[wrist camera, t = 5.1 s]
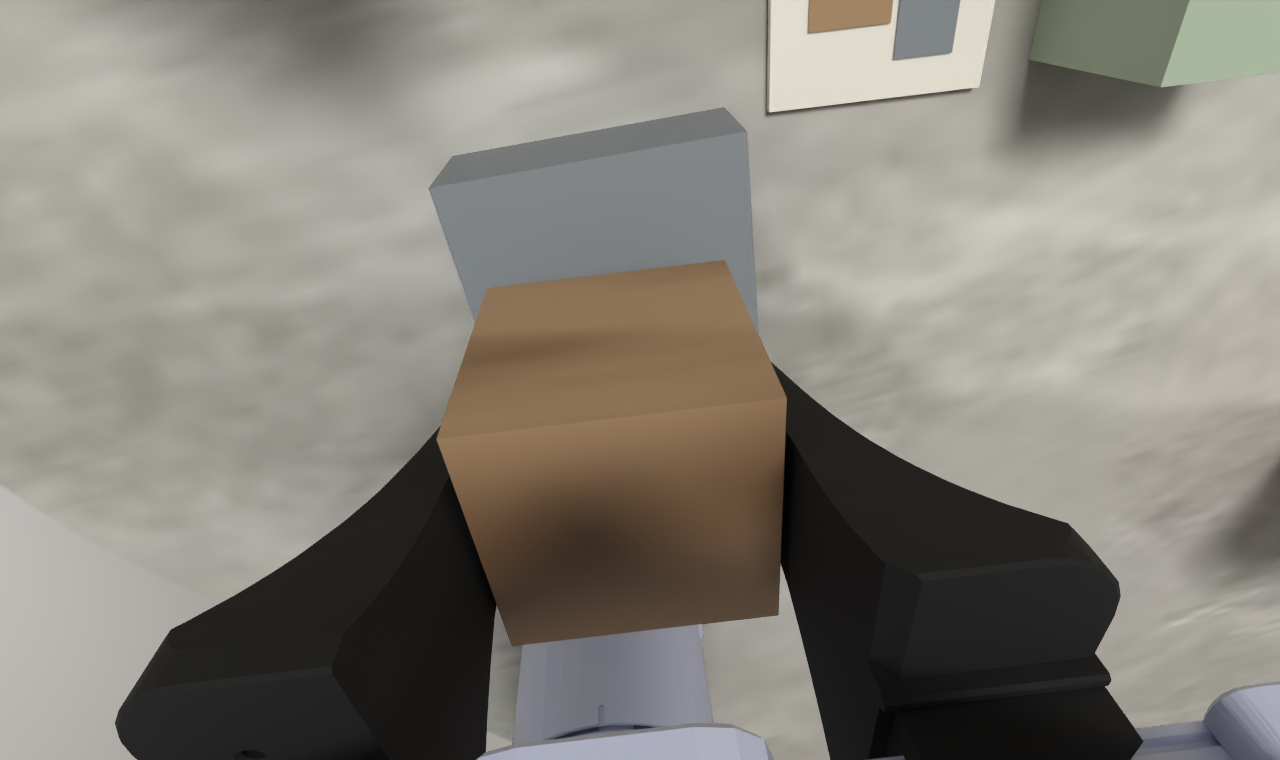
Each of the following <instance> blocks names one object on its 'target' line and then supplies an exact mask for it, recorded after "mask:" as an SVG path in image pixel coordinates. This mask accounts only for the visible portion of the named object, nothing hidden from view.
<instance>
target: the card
mask: <svg viewBox="0 0 1280 760" xmlns="http://www.w3.org/2000/svg"><path fill="white" fill-rule="evenodd" d="M994 4H995V0H768V57H767V111H768V112H777V111H786V110H794V109H802V108H811V107H819V106H827V105H835V104H844V103H852V102H860V101H869V100H877V99H885V98H893V97H902V96H910V95H918V94H927V93H935V92H943V91H951V90H960V89H968V88H976V87H979V85H980V79H981V74H982V69H983V63H984V58H985V53H986V47H987V42H988V36H989V31H990V26H991V20H992V15H993V10H994Z"/></svg>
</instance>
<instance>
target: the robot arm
mask: <svg viewBox="0 0 1280 760" xmlns="http://www.w3.org/2000/svg"><path fill="white" fill-rule="evenodd" d="M771 364H772V366H773V368H774V370H775V373H776V375H777V377H778V379H779V382H780V384H781V386H782V388H783V390H784V393H785V395H786V397H787V407H786V433H785V458H784V484H783V509H782V535H781V560H780V563H781V566H782V569H783V572H784V575H785V578H786V581H787V584H788V587H789V591H790V595H791V599H792V603H793V606H794V610H795V614H796V618H797V622H798V625H799V629H800V633H801V637H802V641H803V645H804V649H805V653H806V657H807V661H808V665H809V669H810V673H811V677H812V682H813V686H814V690H815V694H816V698H817V703H818V707H819V711H820V715H821V720H822V724H823V728H824V733H825V737H826V742H827V746H828V751H829V755H830V760H1280V682H1273V683H1264V684H1256V685H1247V686H1243V687H1239V688H1234V689H1232V690H1230V691H1228V692H1226V693H1223V694H1221V695H1220V696H1219V697H1218V698H1217V699H1215V700H1214V701H1213V703H1212V704H1211V705H1210V706H1209V708H1208V710H1207V712H1206V714H1205V716H1204V720H1203V721H1194V722H1186V723H1177V724H1169V725H1160V726H1152V727H1143V728H1134V727H1133V725H1132V724H1131V723H1130V721H1129V720H1128V718H1127V717H1126V716H1125V714H1124V713H1123V711H1122V710H1121V709H1120V707H1119V706H1118V704H1117V703H1116V702H1115V700H1114V699H1113V697H1112V696H1111V695H1110V693H1109V692H1108V690H1107V689H1106V688H1105V686H1108V685H1109V684H1110V682H1111V677H1110V673H1109V672H1108V671H1107V669H1106V668H1105V667H1104V665H1103V664H1102V662H1101V661H1100V660H1099V658H1098V657H1097V656H1096V654H1095V651H1096V649H1097V648H1098V646H1099V644H1100V642H1101V640H1102V638H1103V636H1104V634H1105V632H1106V631H1107V629H1108V627H1109V625H1110V623H1111V621H1112V619H1113V617H1114V615H1115V612H1116V609H1117V606H1118V603H1119V600H1120V596H1121V595H1120V588H1119V582H1118V581H1117V579H1116V578H1115V577H1114V575H1113V574H1112V573H1111V572H1110V570H1109V569H1108V568H1107V567H1106V565H1105V564H1104V563H1103V562H1102V561H1101V559H1100V558H1099V557H1098V556H1097V555H1096V553H1095V552H1094V551H1093V550H1092V549H1091V547H1090V546H1089V545H1088V544H1087V543H1086V542H1085V541H1084V540H1083V539H1082V538H1081V536H1080V535H1079V534H1078V533H1077V532H1076V531H1075V530H1074V529H1073V528H1072V527H1071V526H1070V525H1069V524H1068V523H1065V522H1061V521H1058V520H1055V519H1052V518H1049V517H1045V516H1042V515H1039V514H1036V513H1032V512H1029V511H1026V510H1023V509H1020V508H1016V507H1013V506H1010V505H1007V504H1004V503H1001V502H998V501H996V500H993V499H991V498H988V497H985V496H983V495H980V494H978V493H975V492H972V491H970V490H967V489H965V488H962V487H960V486H958V485H955V484H953V483H951V482H948V481H946V480H944V479H942V478H939V477H937V476H935V475H933V474H931V473H929V472H927V471H925V470H923V469H921V468H919V467H916V466H914V465H912V464H911V463H909V462H907V461H905V460H903V459H901V458H899V457H897V456H896V455H894V454H892V453H890V452H889V451H887V450H885V449H884V448H882V447H880V446H878V445H877V444H875V443H873V442H872V441H870V440H869V439H867V438H865V437H864V436H862V435H861V434H859V433H858V432H856V431H855V430H853V429H852V428H851V427H849V426H848V425H846V424H845V423H843V422H842V421H841V420H839V419H838V418H836V417H835V416H834V415H832V414H831V413H830V412H829V411H827V410H826V409H825V408H824V407H822V406H821V405H820V404H819V403H817V402H816V401H815V400H814V399H812V398H811V397H810V396H809V395H808V394H807V393H805V392H804V391H803V390H802V389H801V388H800V387H799V386H797V385H796V384H795V383H794V382H793V381H792V380H791V379H789V378H788V377H787V376H786V375H785V374H784V373H783V372H782V371H781V370H780V369H778V368H777V367H776V366H775V365H774V364H773V363H772V362H771ZM440 427H441V426H440ZM440 427H439V428H438V430H437V431H436V432H435V433H434V434H433V435H432V436H431V438H430V439H429V440H428V441H427V442H426V443H425V444H424V446H423V447H422V448H421V449H420V450H419V451H418V452H417V453H416V454H415V456H414V457H413V458H412V459H411V460H410V461H409V462H408V463H407V464H406V465H405V466H404V467H403V468H402V469H401V470H400V471H399V472H398V473H397V474H396V475H395V476H394V477H393V478H392V479H391V480H390V481H389V482H388V483H387V484H386V485H385V486H384V487H383V488H382V489H381V490H380V491H379V492H378V493H377V494H376V495H375V496H373V497H372V498H371V499H370V500H369V501H368V502H367V503H366V504H364V505H363V506H362V507H361V508H360V509H359V510H357V511H356V512H355V513H354V514H353V515H351V516H350V517H349V518H348V519H347V520H345V521H344V522H343V523H342V524H340V525H339V526H338V527H336V528H335V529H334V530H332V531H331V532H330V533H328V534H327V535H326V536H324V537H323V538H322V539H320V540H319V541H318V542H316V543H315V544H313V545H312V546H311V547H309V548H308V549H307V550H305V551H304V552H303V553H301V554H300V555H298V556H297V557H295V558H294V559H292V560H291V561H289V562H288V563H286V564H285V565H283V566H282V567H280V568H279V569H277V570H276V571H274V572H273V573H271V574H269V575H268V576H266V577H265V578H263V579H261V580H260V581H258V582H256V583H255V584H253V585H252V586H250V587H248V588H247V589H245V590H243V591H241V592H240V593H238V594H236V595H235V596H233V597H231V598H229V599H227V600H226V601H224V602H222V603H220V604H218V605H216V606H215V607H213V608H211V609H209V610H207V611H205V612H203V613H202V614H200V615H198V616H196V617H194V618H193V619H191V620H189V621H187V622H185V623H183V624H181V625H179V626H177V627H175V628H173V629H171V630H170V632H169V633H168V635H167V636H166V638H165V639H164V641H163V642H162V644H161V645H160V647H159V649H158V650H157V652H156V653H155V655H154V657H153V658H152V659H151V661H150V662H149V664H148V666H147V667H146V669H145V670H144V672H143V673H142V675H141V677H140V678H139V680H138V681H137V683H136V684H135V686H134V688H133V689H132V691H131V692H130V694H129V695H128V697H127V698H126V700H125V702H124V703H123V705H122V706H121V708H120V710H119V712H118V715H117V719H116V722H115V724H116V728H117V732H118V735H119V738H120V740H121V742H122V744H123V745H124V746H125V747H126V748H127V750H128V751H129V752H130V753H131V754H132V755H133V756H134V757H135V758H136V759H137V760H774V757H773V756H772V754H771V752H770V750H769V748H768V746H767V744H766V743H765V741H764V739H762V738H761V737H759V736H758V735H756V734H754V733H751V732H749V731H746V730H744V729H741V728H739V727H736V726H734V725H731V724H716V723H714V721H713V715H712V709H711V703H710V697H709V690H708V684H707V678H706V672H705V665H704V659H703V653H702V647H701V639H702V637H703V630H702V624H699V625H690V626H682V627H673V628H664V629H656V630H647V631H639V632H630V633H621V634H613V635H604V636H596V637H587V638H579V639H570V640H561V641H553V642H544V643H536V644H527V645H522V655H521V665H520V674H519V684H518V694H517V703H516V713H515V722H514V732H513V742H512V745H511V746H507V747H503V748H500V749H496V750H493V751H489V752H486V733H487V711H488V696H489V681H490V665H491V653H492V641H493V629H494V618H495V611H496V601H495V598H494V596H493V593H492V590H491V587H490V585H489V582H488V579H487V576H486V574H485V571H484V568H483V565H482V563H481V560H480V557H479V554H478V552H477V549H476V546H475V544H474V541H473V538H472V535H471V533H470V530H469V527H468V524H467V522H466V519H465V516H464V513H463V511H462V508H461V505H460V502H459V500H458V497H457V494H456V492H455V489H454V486H453V483H452V481H451V478H450V475H449V472H448V470H447V467H446V464H445V461H444V459H443V456H442V453H441V450H440V448H439V445H438V442H437V440H436V439H437V436H438V433H439V430H440Z"/></svg>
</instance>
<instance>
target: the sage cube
mask: <svg viewBox="0 0 1280 760" xmlns="http://www.w3.org/2000/svg"><path fill="white" fill-rule="evenodd" d="M1029 60H1032V61H1037V62H1042V63H1047V64H1052V65H1056V66H1061V67H1066V68H1071V69H1075V70H1080V71H1085V72H1090V73H1094V74H1099V75H1104V76H1109V77H1113V78H1118V79H1123V80H1128V81H1132V82H1137V83H1142V84H1147V85H1152V86H1156V87H1168V86H1176V85H1184V84H1193V83H1201V82H1209V81H1217V80H1226V79H1234V78H1242V77H1251V76H1259V75H1267V74H1276V73H1280V0H1042V2H1041V7H1040V11H1039V16H1038V20H1037V25H1036V29H1035V34H1034V38H1033V42H1032V47H1031V51H1030V56H1029Z"/></svg>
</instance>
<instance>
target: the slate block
mask: <svg viewBox="0 0 1280 760" xmlns="http://www.w3.org/2000/svg"><path fill="white" fill-rule="evenodd" d="M429 191H430V194H431V196H432V199H433V202H434V205H435V208H436V211H437V214H438V217H439V220H440V222H441V225H442V228H443V231H444V234H445V237H446V240H447V243H448V245H449V248H450V251H451V254H452V257H453V260H454V263H455V266H456V269H457V271H458V274H459V277H460V280H461V283H462V286H463V289H464V292H465V295H466V297H467V300H468V303H469V306H470V309H471V312H472V315H473V318H474V320H475V322H476V319H477V317H478V314H479V311H480V308H481V305H482V302H483V299H484V296H485V293H486V290H487V288H492V287H501V286H509V285H518V284H526V283H534V282H543V281H551V280H560V279H568V278H576V277H585V276H593V275H602V274H610V273H618V272H627V271H635V270H644V269H652V268H660V267H669V266H677V265H686V264H694V263H703V262H711V261H719V260H725V261H726V264H727V266H728V268H729V270H730V272H731V275H732V277H733V279H734V281H735V284H736V286H737V288H738V290H739V293H740V295H741V297H742V299H743V301H744V304H745V306H746V308H747V310H748V313H749V315H750V317H751V319H752V321H753V324H754V326H755V328H756V330H757V333H758V317H757V299H756V281H755V264H754V246H753V228H752V211H751V193H750V175H749V158H748V140H747V131H746V130H745V129H744V128H743V127H742V126H741V125H740V123H739V122H738V121H737V120H736V119H735V118H734V117H733V116H732V115H731V114H730V113H729V112H728V111H727V110H726V109H725V108H718V109H712V110H707V111H701V112H696V113H690V114H685V115H679V116H674V117H668V118H662V119H657V120H651V121H646V122H640V123H635V124H629V125H624V126H618V127H612V128H607V129H601V130H596V131H590V132H585V133H579V134H573V135H568V136H562V137H557V138H551V139H546V140H540V141H535V142H529V143H523V144H518V145H512V146H507V147H501V148H496V149H490V150H484V151H479V152H473V153H468V154H462V155H457V156H452V158H451V159H450V160H449V162H448V163H447V164H446V166H445V167H444V168H443V170H442V171H441V172H440V174H439V175H438V176H437V178H436V179H435V180H434V182H433V183H432V184H431V186H430V187H429ZM758 335H759V334H758Z"/></svg>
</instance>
